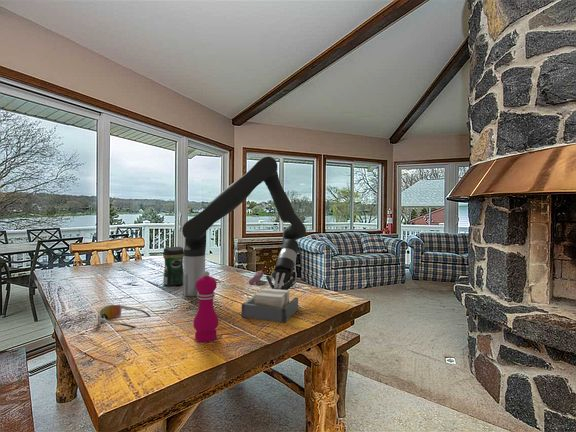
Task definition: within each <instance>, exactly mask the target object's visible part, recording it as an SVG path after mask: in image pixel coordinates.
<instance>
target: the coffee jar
mask: <svg viewBox="0 0 576 432" xmlns="http://www.w3.org/2000/svg"><path fill="white" fill-rule="evenodd" d="M162 256H163V259H164V271H163V281H162V283H163V285H164V286H169V287H172V286H179V285H183V272H184V247H182V246H170V247H164V248H163V253H162Z"/></svg>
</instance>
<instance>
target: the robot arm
mask: <svg viewBox="0 0 576 432" xmlns="http://www.w3.org/2000/svg"><path fill="white" fill-rule="evenodd" d="M263 182H264V183H265V185H266V187H267V190H268V191H269V194H270V197H271V199H272V201H273V204H274V207H275V210H276V212H277V214H278V216H279V218H280V219H279V220H281V222H283V223H286V222H288V223H289V224H290V225H288V226H286V227H285V228H284V230H283V232H282V245H281V249H280V252H279V254H278V257H277V259H276V264H275V266H274V270H273V272H272V273H271V274H270V275H269V274H268V275H266V276H265V277H266V280H267V282H268V284H269V286H270V289H280V290H290V289H291V288H292V287H293V286H294V285H296V284H297V280H296V277H293V274H294V268H295V266H296V261H297V256H298V255H297V254H298V251H299V246H300V245H299V243H298V242H297V240H300V239H303V238H304V237H306V234H307V228H306V226H305V224H304V223H303V222H302V220H301V219H300V217H298V215H297V214H296V212H295V210H294V208H293V206H292V203H291V201H290V198H289V196H288V195H287V194H286V192H285V190H284V187H283V185H282V184H281V181H280V177H279V174H278V163H277V161H276V159H275V158H274V157H272V156H267V155H266V156H262V157H261V158H260V159H258V161H257V162H256V163H255V164H254V165H253V166H251V168H250V169H249V170H248V171H247V172H246V173H245V174H244V175H242V176H241V177H239V178H238V179H236V180H235V181H234V182H233V183H231V184H230V185H228V186H227V187H226V188H225V189H223V191H221V192H220V193H219V194H218V196H216V197H215V198H214V199H213V200H212V201H211V202H210V203H209V204H208V205H206V207H205V208H204V209H203V210H202V211H200V212H199V213H198V214H195V216H193V217H192V218H190V219H189V220H186V222H185V223H183V226H182V230H181V231H182V235H183V238H184V239H185V241H184V247H183V251H184V257H183V284H182V294H183V296H184V297H198V295H197V294H198V293H199V292H198V291H197V289H196V282H197V280H198V279H199V278H201V277H203V273H204V272H205V271H206V250H207V249H206V248H207V232H208V230H209V229H210V228H211V227H212V226H213V225H214V224H215V223H216V222H218V221H220V219H222V218H225V216H227V215H228V214H230V213H231V212H233V211H234V210H235V209H237V208H238V207H239V206H240V205H241V204H242V203H243V202H244V201H245V200H246V199H247V198H249V196H250V195H251V193H252V192H253V191H254V190H255V189H256V188H257V187H258V186H259V185H261V184H262V183H263ZM273 280H274V283H273Z"/></svg>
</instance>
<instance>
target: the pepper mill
mask: <svg viewBox="0 0 576 432" xmlns="http://www.w3.org/2000/svg"><path fill="white" fill-rule="evenodd" d="M217 285H218V284H217V281H216V278H214V277H213V276H210V272H209V270H205V272H204V273H203V277H201V278H199V279H198V280H197V282H196V289H197V291H198V292H199V293H198V294H197V295H198V296H196V297H197V299H198V302H199V304H198V310H197V312H196V314H195V316H194V318H193V328H194V330H195V333H194V338H195V341H196V342H199V343H208V342H213V341H214V340H216V339H217V335H218V332H217V329H218V326H219V318H218V315H217V312H216V310H215V308H214V298H215V290H216V289H217Z"/></svg>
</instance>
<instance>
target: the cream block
mask: <svg viewBox="0 0 576 432" xmlns="http://www.w3.org/2000/svg"><path fill="white" fill-rule="evenodd" d="M253 297H254V305H262V306H270V307H279V308H284V307H285V306H286V305H287V304H288V303H289V302H290V289H288V290H280V289H272V288H269V287H268V288H266V287H264V288H262V289H261V290H260V291H258V292H257V293H254V295H253Z"/></svg>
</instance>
